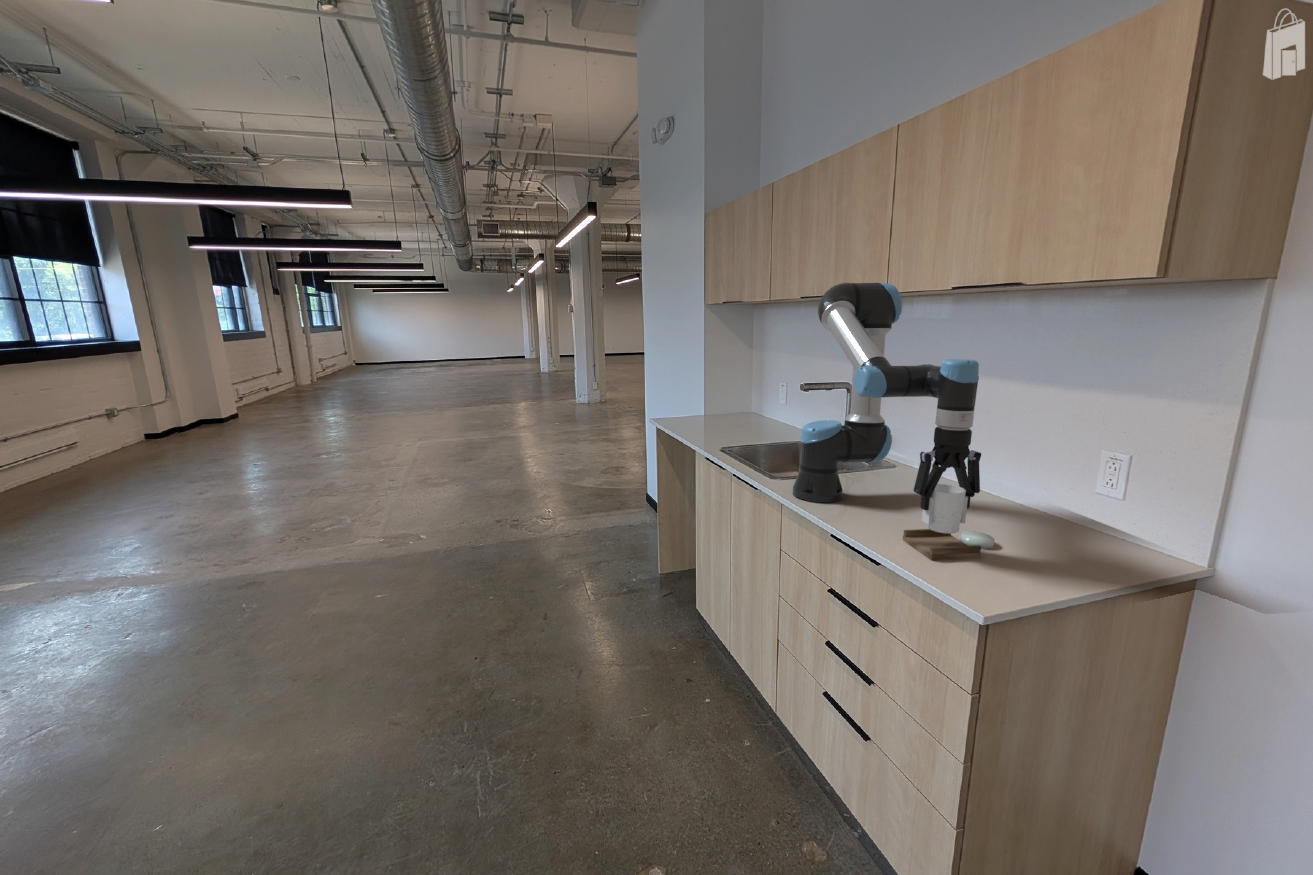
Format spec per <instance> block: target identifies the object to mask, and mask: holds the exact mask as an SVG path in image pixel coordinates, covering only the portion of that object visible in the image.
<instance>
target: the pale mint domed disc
mask: <svg viewBox="0 0 1313 875" xmlns="http://www.w3.org/2000/svg"><path fill="white" fill-rule="evenodd" d="M960 541H962V542H963V543H965V544H967V545H969V546H972V545H979V546H981V550H991V549H993V548H995V547H994V546H995V537H993V536H991V535H989V534H986V533H985V532H979V531H964V532H962V533H961V535H960Z"/></svg>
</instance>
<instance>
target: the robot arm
mask: <svg viewBox="0 0 1313 875" xmlns="http://www.w3.org/2000/svg"><path fill="white" fill-rule="evenodd" d="M902 301H903V300H902V297H901V293H900V291H899V290H898V288H897V287H896V286H895V285H893V284H891V283H884V282H842V283H838V284H835V285H833V286H831V287H830V288H829V289H827V291H825V292H824V293H823V295H822V296H821V298H820V301H819V303H818V306H817V315H818V320H819V321H820V323H821V325H822V326H823V328H824V329H825V330H826V331H830V332H831V334H832V335H833V336H834V338H835V340H836V342H837V343H838V345H839V346H840V348H841V350H842V351H843V353H844V354H845V356H846V357H847V359H848V361H849V362H850V363H851V365H852V379H851V394H850V396H851V397H850V413H849V414H848V415H847V416H846V417H845V418H844V424H843V425H842V423H841V421H838V420H833V419H832V420H831V419H830V420H825V419H824V420H817V421H812V422H808V423H806V424H805V425H804V426H803V427H802V429H801V435H800V439H799V440H800V449H799V450H800V454H799V469H798V473H797V475H796V477H795V480H794V483H793V486H792V495H793V497H795V498H797V497H798V498H797V499H799V498H800V500H802V499H804V500H803V501H806V500H807V501H806V502H811V501H812V502H813V503H822V502H826V503H835V502H839V501H841V500H842V499H843V496H844V494H843V493H844V489H843V486H842V482H841V479H840V475H839V474H840V473H839V469H840V467H839V466H840V464H849V463H851V464H852V463H865V464H866V463H867V464H869V463H874V462H875V463H876V462H880V461H883V460H884V459H885V458H886V457H887V456H888V455H889V453H890V450H891V449H892V442H893V437H892V434H891V429H890V427H889V426H888V425H887V424H886V423H885V422H886V420H885V419H884V418H883V417H882V415H881V403H882V398H901V397H902V398H903V397H904V398H906V397H907V398H909V397H910V398H914V397H917V398H918V397H919V398H920V397H922V398H923V397H926V398H927V397H929V398H936V399H937V405H936V411H935V412H936V413H935V414H936V415H935V421H934V422H935V423H934V424H935V425H936V427H935V428H934V434H933V444H934V446H933V448H932V450H931V451H927V452H925V451H921V452H919V458H920V459H919V461H920V462H919V466H918V471H917V474H916V478H915V482H914V483H915V484H914V486H913V492H914V493H916V494H918V495H920V505H919V506H920V509H922V513H921V514H922V515H921V522H923V523H925V524H926V525H927V524H928V525H932V516H933V506H934V498H933V497H931V495H932V493H933V491H934V489H935V487H936V485H937V484H939V481H940V479H941V477H942V476H943V473H945V472H946V471H947V469H949V468H953V469H954V473H955V476H956V479H957V480H956V481H957V483H958V486H959V487H962V488H964V489H965V490H966V495H965V501H964V507H963V512H962V518H961V520H960V524H966V516H967V509H970V507H971V506H970V504H971V498H974V497H975V494H979V493H980V492H981V480H980V461H981V458H982V453H981V452H980V451H976V450H973V449H972V450H970V448H969V446H970V445H971V444H972V436H973V435H972V434H973V431H972V429H971V428H972V427H973V425H974V418H975V406H976V400H977V392H978V386H979V385H978V384H979V380H980V377H979V373H980V372H979V370H980V369H979V367H980V364H979V362H978V361H977V360H976V359H966V358H965V359H964V358H950V359H949V358H948V359H943V361H941V366H940V365H933V364H917V365H892V364H891V363H890V362H889V360H888V359H887V358H886V357H885V346H886V336H887V334H888V333H889V332H891V330H892V325H893V324H895V323H896V322H898V320H899V319H900V316H901V315H902V310H903V309H902V307H903V302H902ZM966 459H967V464H966V461H965V460H966ZM932 462H933V463H932Z"/></svg>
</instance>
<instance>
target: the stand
mask: <svg viewBox="0 0 1313 875" xmlns="http://www.w3.org/2000/svg"><path fill="white" fill-rule="evenodd" d="M902 541H903V542H905V543H906V544H907V545H909V546H910V547H912V548H913V549H915V550H916V551H917V552H919V553H920V554H922V555H923V556H924V557H926V558H928V559H929V560H930V561H944V560H962V559H981V556H982V552H981V551H982V549H981V546H979V545H972V546H969V545H967V544H965V543H963V542H962V541H961V539H958V538H957V537H955V536H953V535H952V533H951V534H949V533H940V532H936V531H933V530H931V529H929V528H923V529H922V528H919V529H904V530H903V535H902Z"/></svg>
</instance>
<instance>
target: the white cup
mask: <svg viewBox="0 0 1313 875" xmlns="http://www.w3.org/2000/svg"><path fill="white" fill-rule="evenodd" d="M965 495H966V490H965V489H964V488H962V487H960V486H959V485H953V484H948V483H937V485H936V487H935V489H934V491H933V493H932V495H931V497H933V498H934V506H933V516H932V525H928V524H926V527H927V529H931V530H933V531H936V532H940V533H949V534H951V535H952V534H956V533H958V532H959V531H960V526H961V525H960V524H961V523H960V520H961V518H962V512H963V507H964V501H965Z"/></svg>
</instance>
